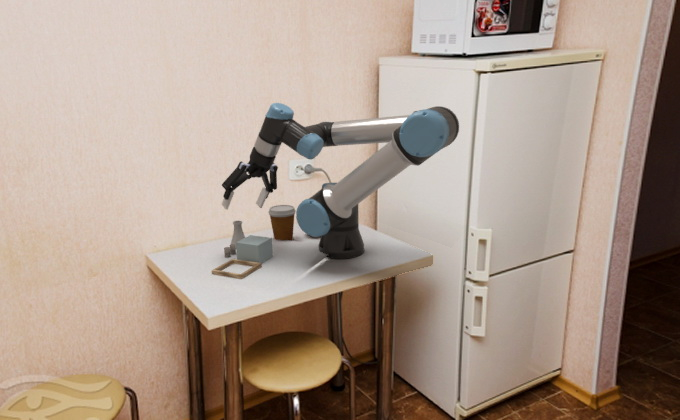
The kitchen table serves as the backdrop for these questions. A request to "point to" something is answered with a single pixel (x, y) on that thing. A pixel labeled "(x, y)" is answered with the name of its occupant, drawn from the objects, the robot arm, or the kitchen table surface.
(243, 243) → the pale blue block
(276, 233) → the disposable coffee cup
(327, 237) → the robot arm
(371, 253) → the kitchen table surface
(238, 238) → the flask
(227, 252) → the board
